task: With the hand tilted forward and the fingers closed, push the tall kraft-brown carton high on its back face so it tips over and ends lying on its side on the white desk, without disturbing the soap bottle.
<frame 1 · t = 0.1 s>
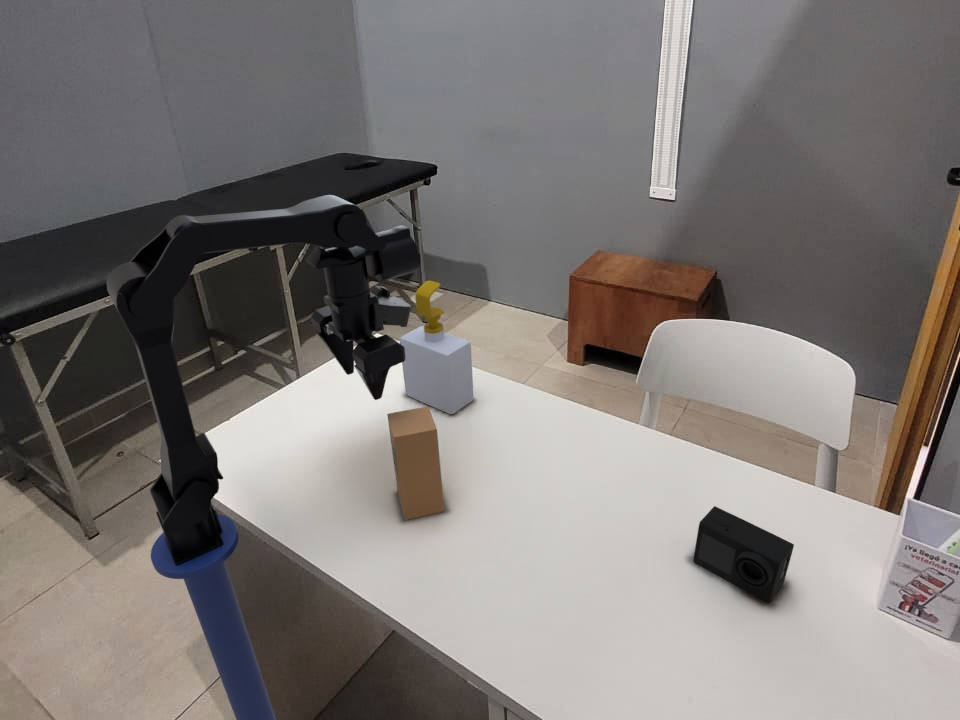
hand: (363, 385, 97), 16 cm above the table, tool pointing down, fingers open, 9 cm apart
carton: (420, 502, 98), on the table
digital camera: (734, 576, 84), on the table
soap bottle: (439, 398, 124), on the table
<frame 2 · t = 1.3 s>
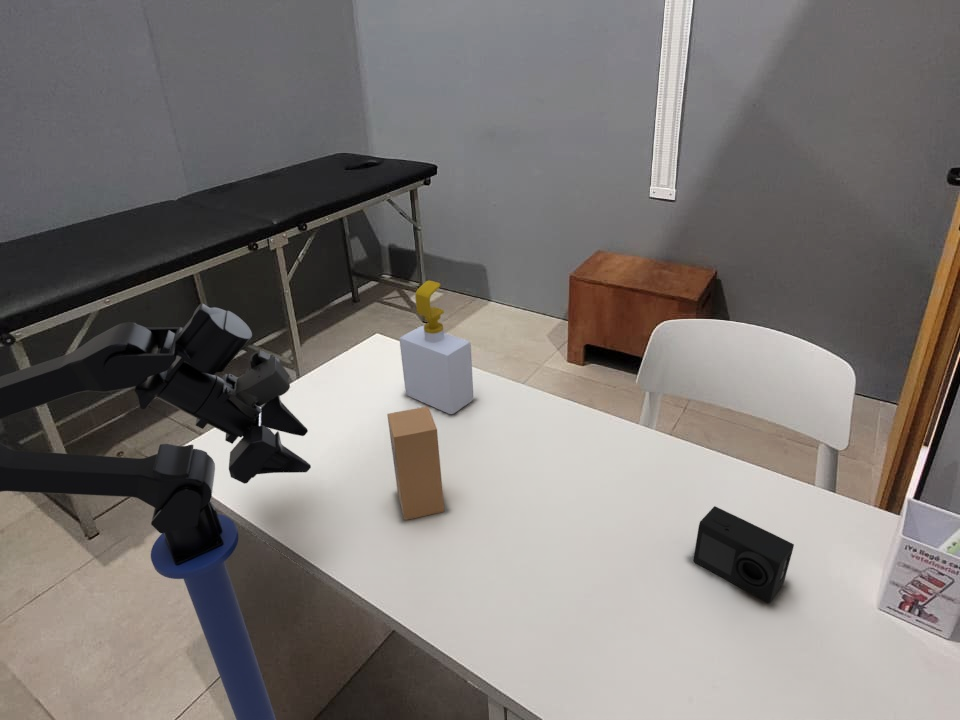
hand: (307, 450, 88), 13 cm above the table, tool tilted 45°, fingers open, 8 cm apart
nothing on the table moved.
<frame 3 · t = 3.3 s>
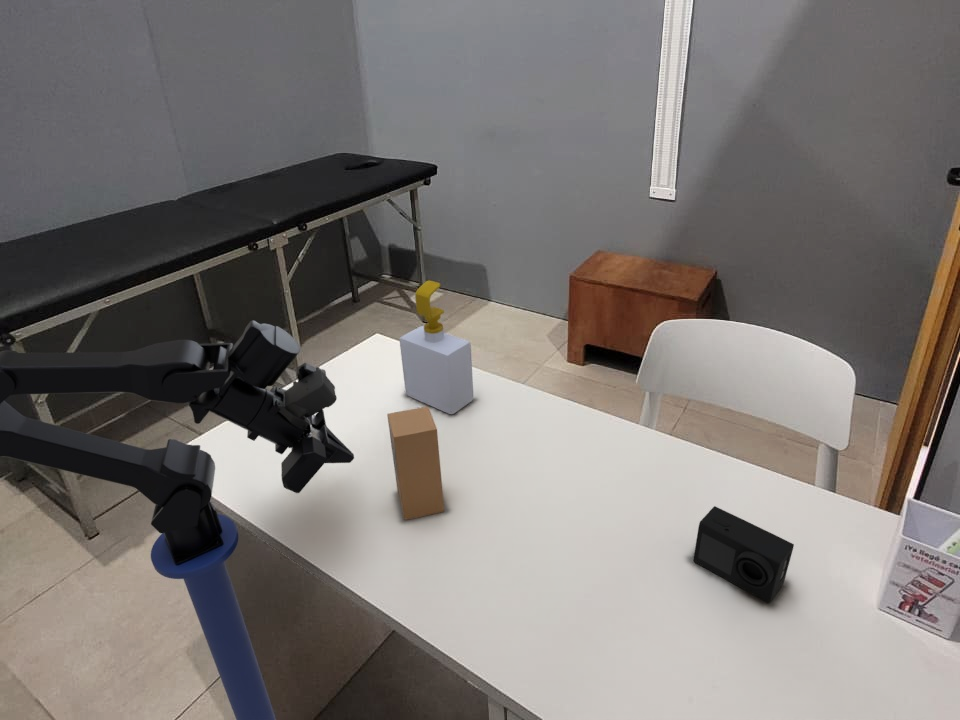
hand: (352, 458, 91), 11 cm above the table, tool tilted 45°, fingers closed
nothing on the table moved.
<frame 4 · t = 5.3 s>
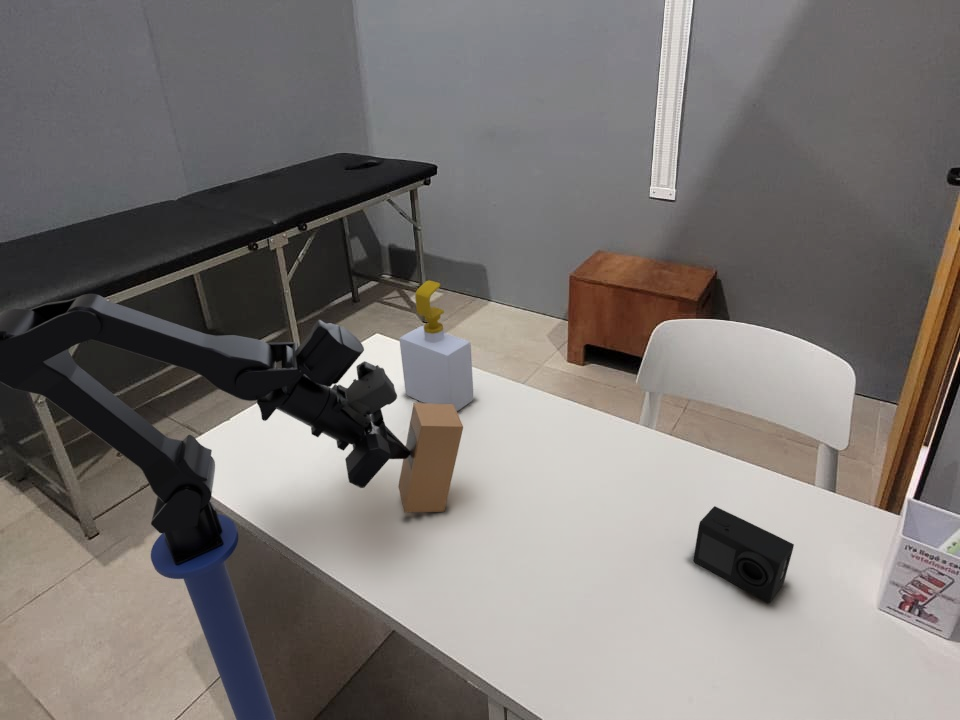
hand: (408, 454, 93), 9 cm above the table, tool tilted 45°, fingers closed
carton: (420, 499, 98), point 1 cm above the table, tilted 14°
everything else where it was.
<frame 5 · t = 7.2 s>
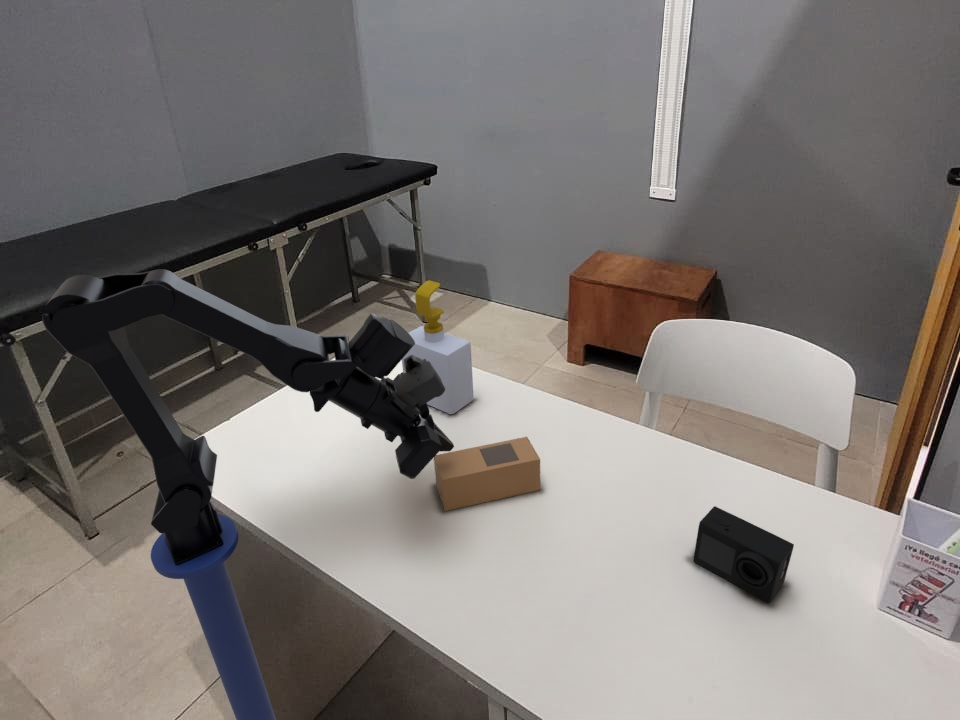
hand: (451, 447, 95), 9 cm above the table, tool tilted 45°, fingers closed
carton: (439, 483, 97), point 3 cm above the table, tilted 90°
everything else where it was.
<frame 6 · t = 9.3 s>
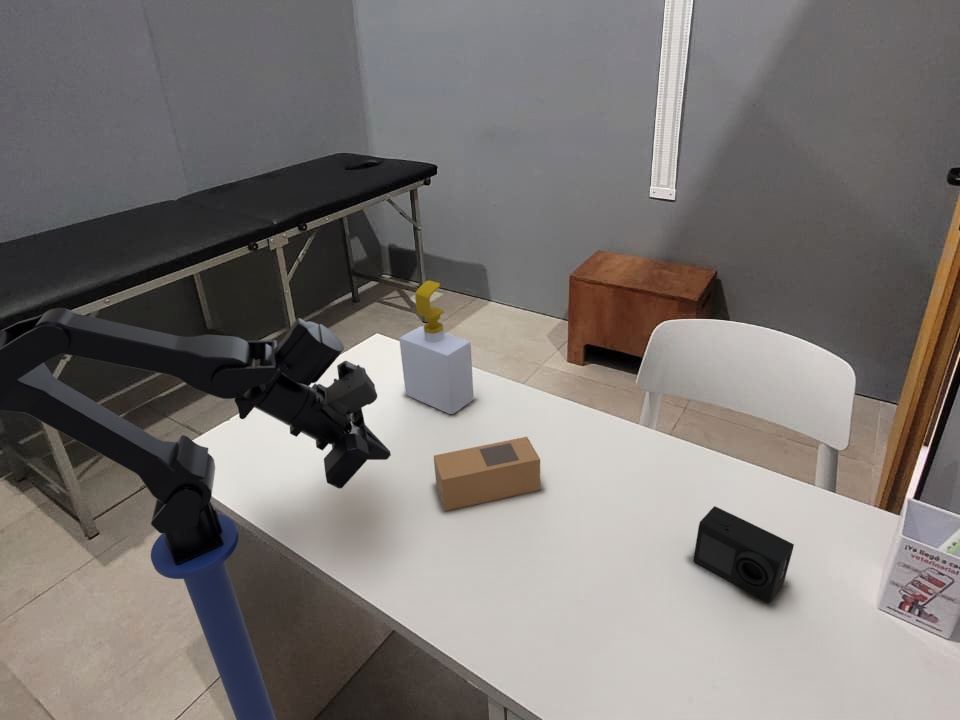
hand: (388, 455, 92), 10 cm above the table, tool tilted 45°, fingers closed
nothing on the table moved.
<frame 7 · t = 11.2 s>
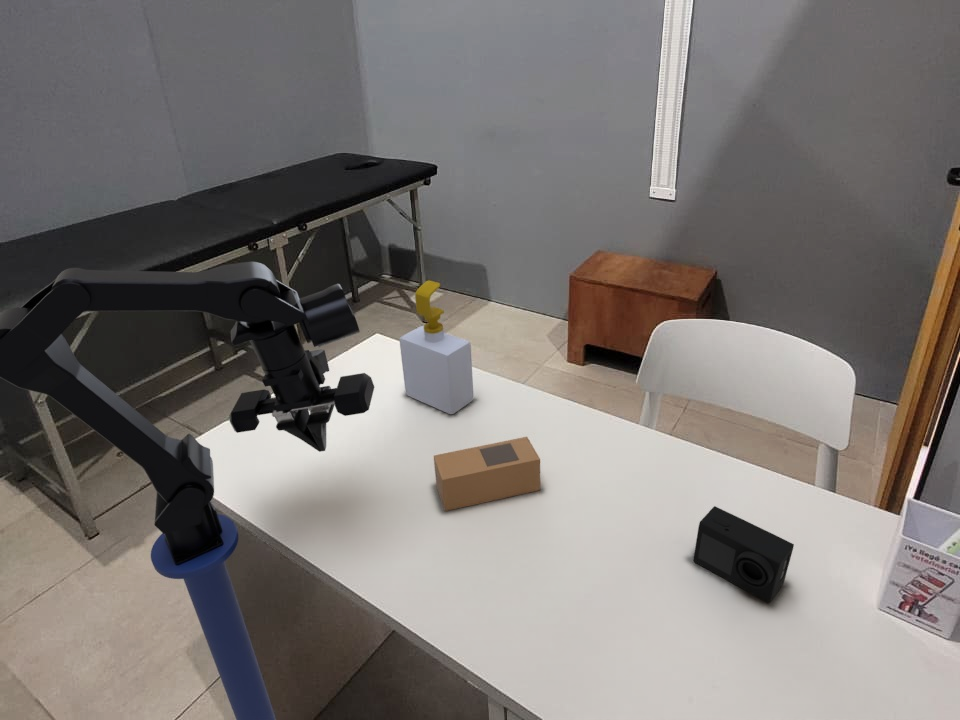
hand: (323, 449, 91), 12 cm above the table, tool pointing down, fingers closed
nothing on the table moved.
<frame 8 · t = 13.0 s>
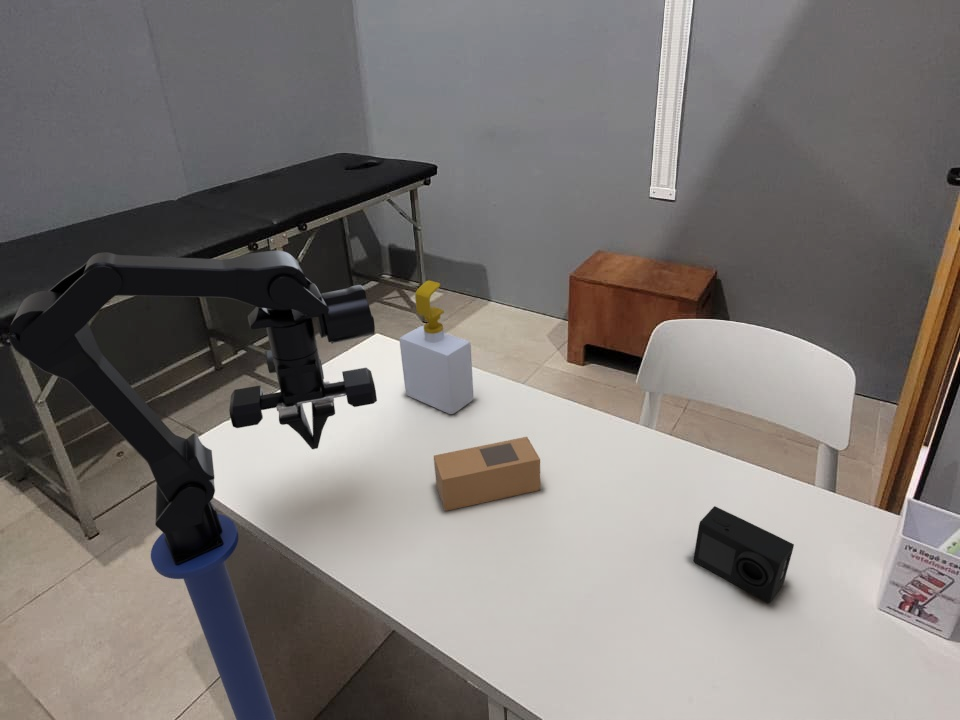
hand: (314, 447, 91), 12 cm above the table, tool pointing down, fingers closed
nothing on the table moved.
at the end: carton tilted 90°; carton inside the target area (2.6 cm from its centre), point 3.0 cm above the table; soap bottle moved 0.2 cm from its start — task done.
